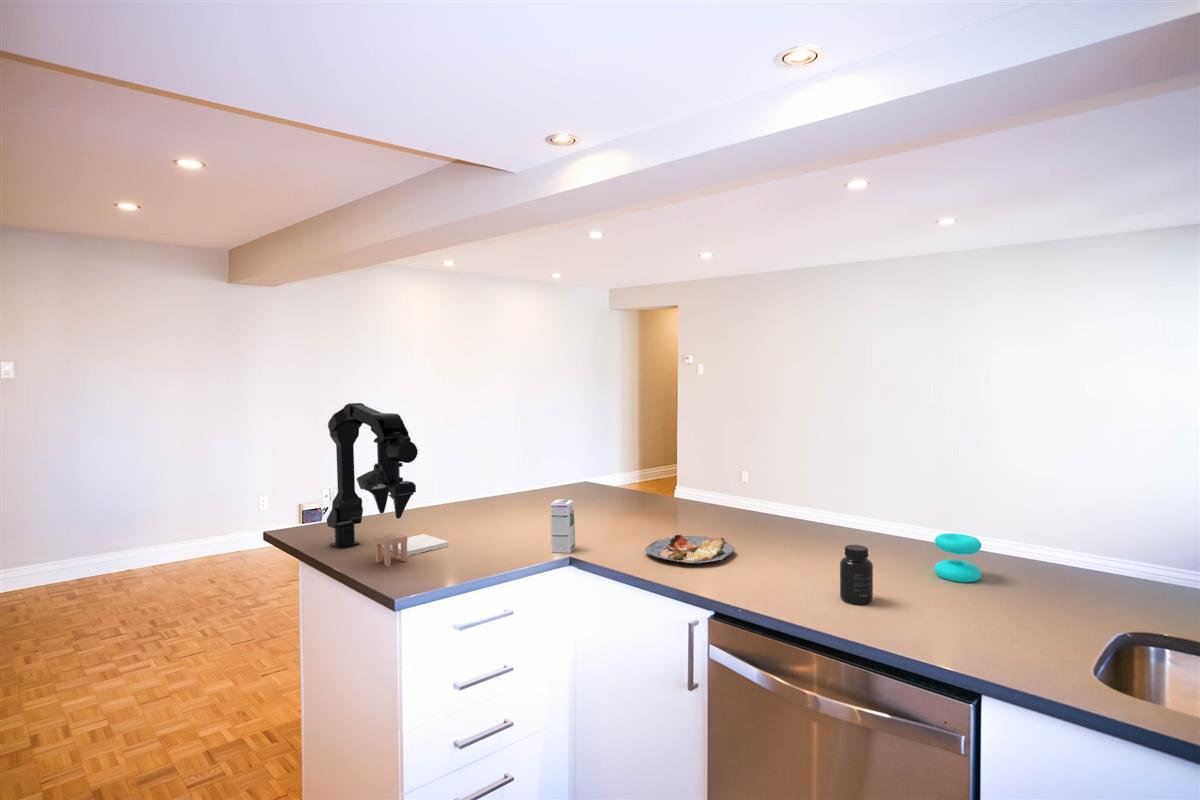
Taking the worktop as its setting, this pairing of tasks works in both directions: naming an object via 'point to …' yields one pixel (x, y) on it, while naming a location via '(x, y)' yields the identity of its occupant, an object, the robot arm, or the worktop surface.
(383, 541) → the stool
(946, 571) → the donuts
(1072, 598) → the worktop surface
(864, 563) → the supplement bottle
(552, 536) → the syrup box
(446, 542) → the white board
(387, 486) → the robot arm
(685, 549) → the food plate
